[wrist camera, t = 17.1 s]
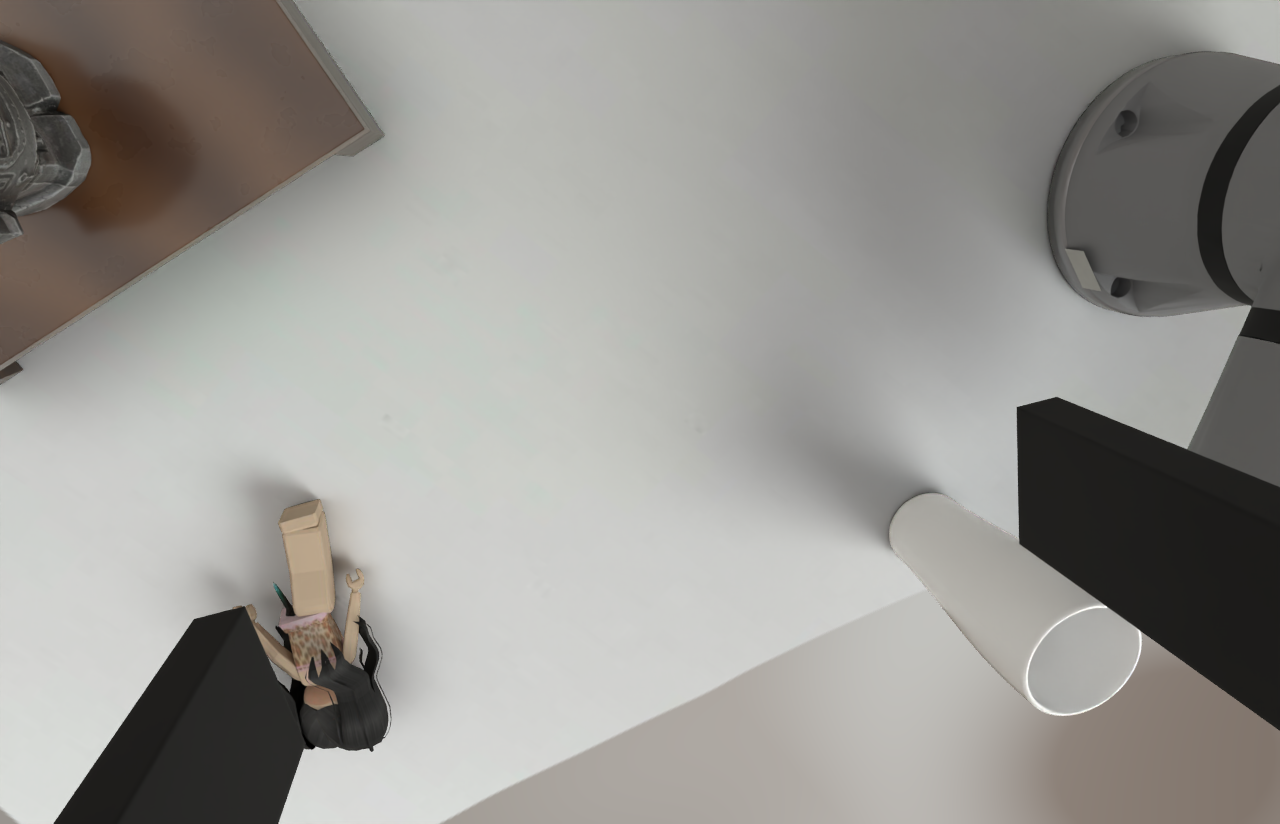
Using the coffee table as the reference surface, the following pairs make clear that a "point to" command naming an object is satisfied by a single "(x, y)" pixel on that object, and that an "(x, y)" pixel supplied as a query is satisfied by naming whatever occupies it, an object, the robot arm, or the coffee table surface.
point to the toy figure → (323, 643)
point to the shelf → (164, 140)
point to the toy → (34, 142)
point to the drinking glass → (1016, 607)
